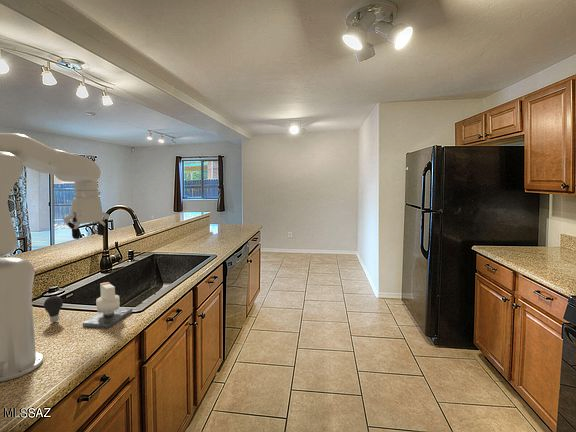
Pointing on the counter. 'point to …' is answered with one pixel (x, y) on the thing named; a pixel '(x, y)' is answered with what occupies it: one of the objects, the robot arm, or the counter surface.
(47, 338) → the counter surface
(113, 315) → the plate
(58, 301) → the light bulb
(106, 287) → the twist cap
